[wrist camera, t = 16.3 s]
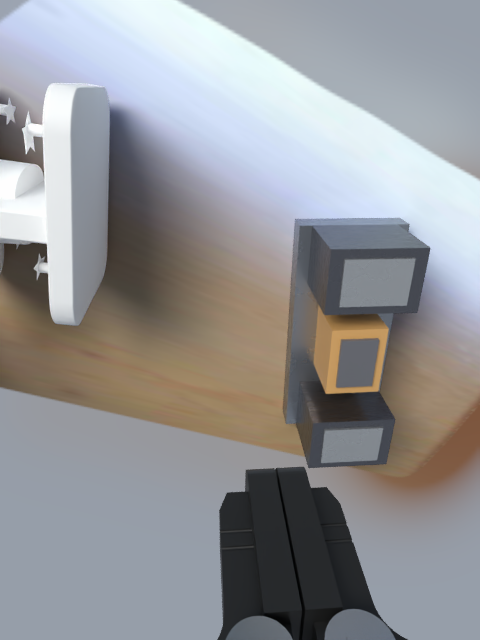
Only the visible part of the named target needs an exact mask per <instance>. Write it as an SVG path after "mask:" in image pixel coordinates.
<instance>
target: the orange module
mask: <svg viewBox="0 0 480 640" xmlns="http://www.w3.org/2000/svg"><path fill="white" fill-rule="evenodd" d="M388 331H389V328H388V327H387V326H386V324H385V323H384V322H383V321H382V319H381V318H380V317H379V315H378V314H349V315H324V314H323V312H322V310H321V308H320V306H319V307H318V318H317V330H316V341H315V353H314V366H315V368H316V371H317V373H318V376H319V378H320V381H321V383H322V386H323V388H324V391H325V393H326V394H334V393H356V392H378V390H379V384H380V378H381V372H382V367H383V361H384V355H385V349H386V343H387V337H388Z"/></svg>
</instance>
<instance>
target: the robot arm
mask: <svg viewBox="0 0 480 640" xmlns="http://www.w3.org/2000/svg"><path fill="white" fill-rule="evenodd" d="M245 482H246V483H245V484H246V485H245V492H231V493H227V494H226V496H225V499H224V501H223V503H222V506H221V508H220V510H219V511H220V512H219V513H220V558H221V559H220V560H221V583H222V608H223V627H222V630H221V633H220V636H219V638H218V640H407V639H405V638H404V637H402V636H400V635H399V634H397V633H396V632H394V631H393V630H392V629H391V628H390V627H389V626H387V624H386V623H385V622H384V621H383V620H382V619H381V617H380V615H379V614H378V612H377V610H376V608H375V606H374V604H373V601H372V598H371V595H370V592H369V589H368V586H367V583H366V580H365V577H364V574H363V571H362V568H361V565H360V562H359V559H358V556H357V553H356V550H355V547H354V544H353V543H352V538H351V535H350V532H349V529H348V527H347V525H346V520H345V517H344V514H343V511H342V508H341V505H340V503H339V502H338V500H337V499H336V498H335V497H334V496H333V495H332V493H331V492H330V491H329V490H328V488H327V487H321V488H311V487H310V484H309V481H308V477H307V473H306V470H305V468H304V467H290V468H276V469H274V468H273V469H253V470H246V481H245Z"/></svg>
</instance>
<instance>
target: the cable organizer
mask: <svg viewBox="0 0 480 640" xmlns="http://www.w3.org/2000/svg"><path fill="white" fill-rule="evenodd" d="M15 109H16V106H12V104H11V101H10V98H9V101H8V105H4V104H0V115H5V116H7V124H8V123H9V121H10V120H12V121H13V122H14V123H15V119H14V112H15ZM22 131H23V134H24V142H25V150H26V154H27V152H28V150H29V148H30V147H31V148H32V149H33V150H34V151H35V149H34V139H33V136H37V137H43V156H44V176H43V172H42V170H41V168H40V167H39V166H38V165H36V164H30V163H23V162H16V161H8V160H1V159H0V274H1V271H2V267H3V262H4V243H8V244H17V248H18V246H19V244H24V245H27V244H30V243H32V242H33V243H42V244H47V257H48V263H45V262H44V259H45V256H44V257H43V258H42V259H41V256H40V254H39V257H38V263H37V264H36V266H35V267H34V270H36V271H37V279H38V277H39V274H40V273H48V282H49V304H50V312H51V316H52V319H53V321H54V323H56V324H63V325H74V326H78V325H79V324H80V323H81V321H82V319H83V317H84V315H85V313H86V311H87V309H88V307H89V305H90V303H91V301H92V299H93V297H94V295H95V293H96V291H97V289H98V287H99V285H100V283H101V281H102V279H103V277H104V273H105V268H106V261H107V238H108V190H109V142H110V107H109V98H108V93H107V90H106V88H105V87H103V86H97V85H91V84H85V83H52V84H50V85H49V87H48V89H47V92H46V96H45V100H44V107H43V124H42V125H40V124H33V123H31V120H30V116H29V111H28V114H27V119H26V124H25V127H24V128H22ZM17 248H16V250H17Z"/></svg>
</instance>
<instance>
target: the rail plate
mask: <svg viewBox="0 0 480 640" xmlns="http://www.w3.org/2000/svg"><path fill="white" fill-rule="evenodd" d="M408 230H409V224H408V223H407V222H405V221H404V220H402V219H401V218H350V219H295V228H294V244H293V260H292V275H291V291H290V307H289V322H288V338H287V354H286V369H285V385H284V401H283V414H284V418H285V422H286V424H292V423H296V425H297V429H298V432H299V436H300V439H301V443H302V447H303V450H304V454H305V457H306V461H307V464H308V468H317V467H336V466H337V467H338V466H357V465H377V464H386V462H387V457H388V453H389V448H390V443H391V438H392V433H393V428H394V423H395V418H394V416H393V415H392V413H391V411H390V410H389V408H388V406H387V404H386V403H385V401H384V399H383V398H382V396H381V394H380V386H381V381H382V375H383V370H384V364H385V358H386V353H387V347H388V342H389V336H390V330H391V325H392V319H393V314H394V313H417V311H418V306H419V301H420V296H421V292H422V287H423V282H424V277H425V272H426V267H427V262H428V257H429V252H430V247H429V246H427V245H426V244H424V243H423V242H422V241H420V240H419V239H417V238H416V237H415V236H413V235H412V234H410V233H409V232H408ZM319 306H320V308H321V310H322V312H323V314H324V315H349V314H378V315H379V317H380V318H381V319H382V321H383V322H384V323H385V324H386V326H387V327H388V328H389V331H388V337H387V343H386V349H385V355H384V361H383V367H382V372H381V378H380V384H379V390H378V392H356V393H334V394H326V393H325V391H324V388H323V386H322V383H321V381H320V378H319V376H318V373H317V371H316V368H315V366H314V353H315V341H316V330H317V318H318V307H319Z"/></svg>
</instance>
